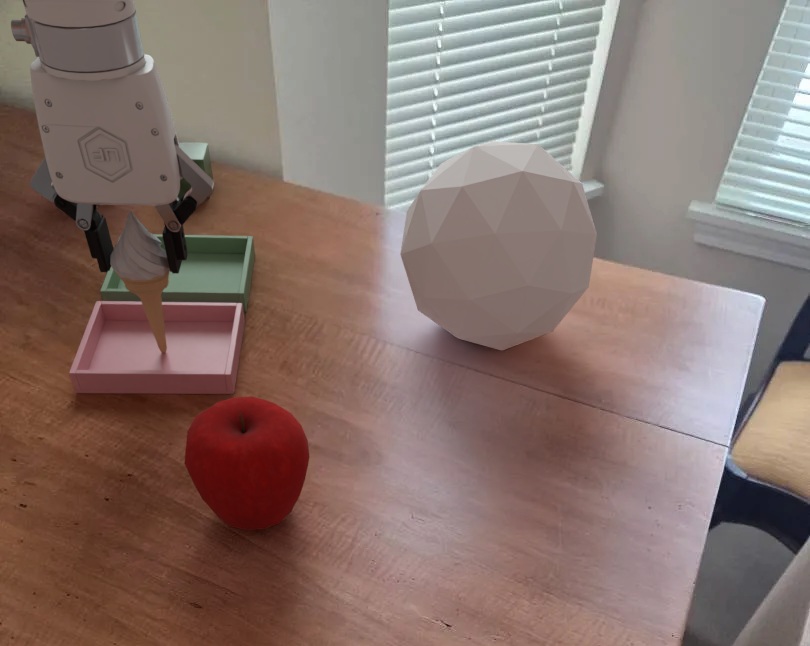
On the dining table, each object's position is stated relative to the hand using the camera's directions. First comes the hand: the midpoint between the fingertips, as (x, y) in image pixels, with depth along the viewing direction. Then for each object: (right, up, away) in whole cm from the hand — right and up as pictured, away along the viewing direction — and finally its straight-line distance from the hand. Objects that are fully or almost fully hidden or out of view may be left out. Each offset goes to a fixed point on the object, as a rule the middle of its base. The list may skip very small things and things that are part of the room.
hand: (142, 263), depth 69 cm
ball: (+33, -2, +14) cm, 36 cm away
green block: (-4, +21, +31) cm, 38 cm away
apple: (+12, -23, -5) cm, 26 cm away
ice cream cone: (0, -6, +8) cm, 10 cm away
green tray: (-1, +4, +17) cm, 17 cm away
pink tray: (0, -7, +8) cm, 10 cm away
